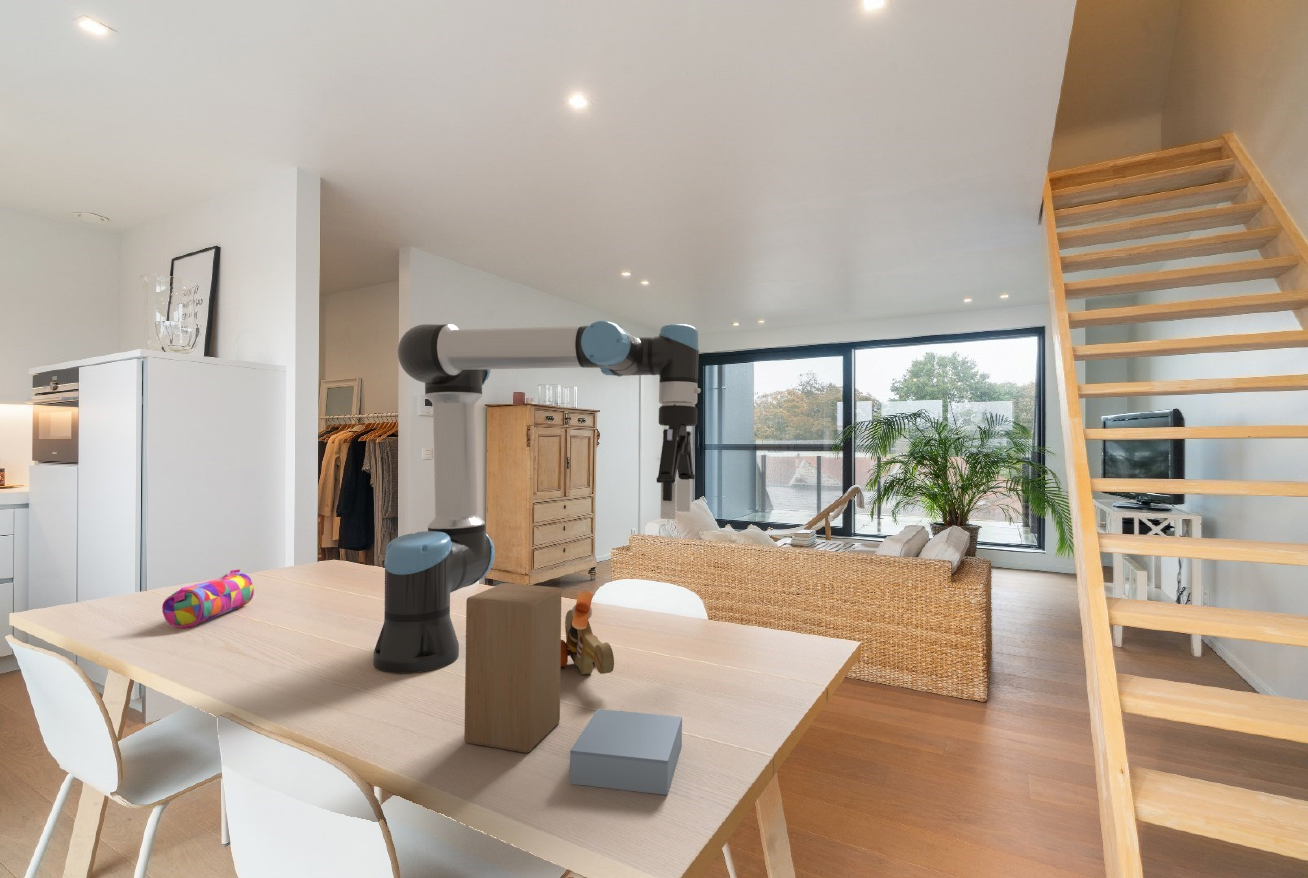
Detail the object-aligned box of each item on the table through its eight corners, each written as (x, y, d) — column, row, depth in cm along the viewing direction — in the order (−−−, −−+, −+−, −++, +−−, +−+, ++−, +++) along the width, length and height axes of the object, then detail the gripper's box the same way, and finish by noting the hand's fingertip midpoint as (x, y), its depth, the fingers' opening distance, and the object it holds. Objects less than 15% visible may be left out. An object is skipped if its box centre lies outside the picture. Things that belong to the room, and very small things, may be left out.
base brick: (569, 783, 74) (570, 750, 74) (597, 737, 86) (597, 708, 86) (667, 795, 72) (667, 760, 72) (681, 746, 84) (682, 716, 84)
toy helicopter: (590, 655, 120) (590, 584, 120) (633, 694, 101) (633, 611, 101) (549, 661, 116) (550, 588, 116) (586, 703, 98) (587, 616, 98)
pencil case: (216, 605, 154) (217, 569, 154) (256, 604, 155) (257, 568, 155) (157, 631, 132) (158, 589, 132) (204, 630, 133) (205, 588, 134)
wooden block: (501, 713, 93) (503, 582, 94) (561, 722, 91) (562, 587, 91) (462, 743, 84) (464, 597, 84) (528, 755, 81) (530, 603, 81)
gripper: (683, 400, 106) (681, 523, 106) (708, 409, 130) (706, 509, 130) (642, 400, 108) (639, 521, 108) (673, 409, 132) (671, 507, 132)
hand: (676, 515), depth 119 cm, fingers open, 13 cm apart
